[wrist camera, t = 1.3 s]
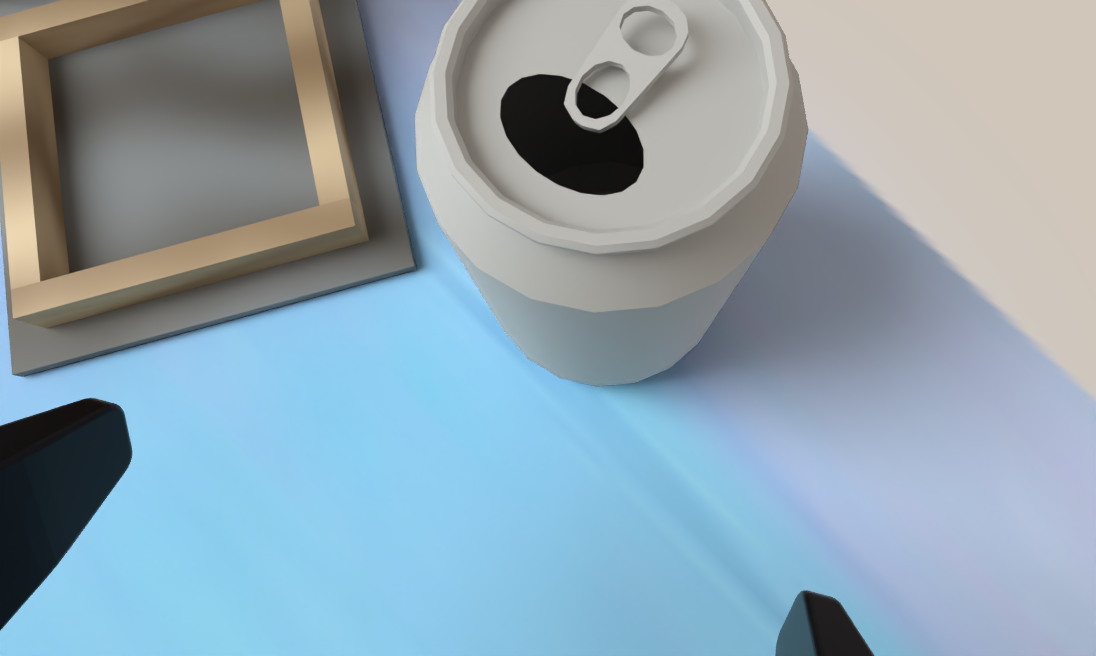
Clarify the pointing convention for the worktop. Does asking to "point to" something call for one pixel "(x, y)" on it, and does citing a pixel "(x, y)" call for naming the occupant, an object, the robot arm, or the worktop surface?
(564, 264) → the can
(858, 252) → the worktop surface
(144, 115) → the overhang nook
